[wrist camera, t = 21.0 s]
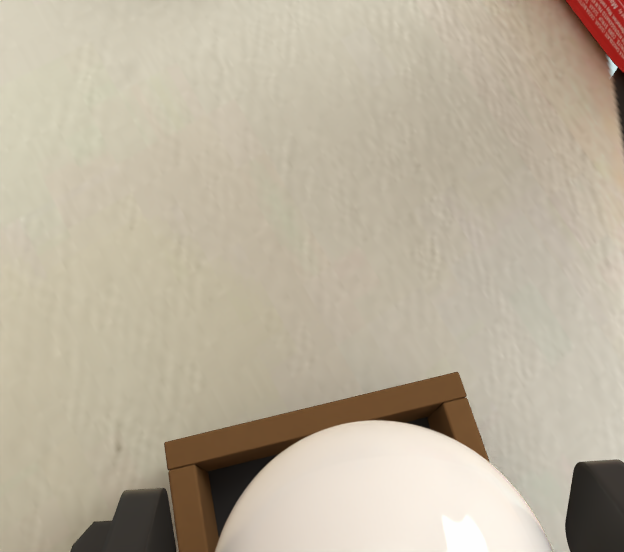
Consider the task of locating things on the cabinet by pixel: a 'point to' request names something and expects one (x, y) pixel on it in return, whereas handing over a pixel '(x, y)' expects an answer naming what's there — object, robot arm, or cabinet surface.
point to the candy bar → (604, 25)
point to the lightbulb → (381, 497)
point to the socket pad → (285, 432)
